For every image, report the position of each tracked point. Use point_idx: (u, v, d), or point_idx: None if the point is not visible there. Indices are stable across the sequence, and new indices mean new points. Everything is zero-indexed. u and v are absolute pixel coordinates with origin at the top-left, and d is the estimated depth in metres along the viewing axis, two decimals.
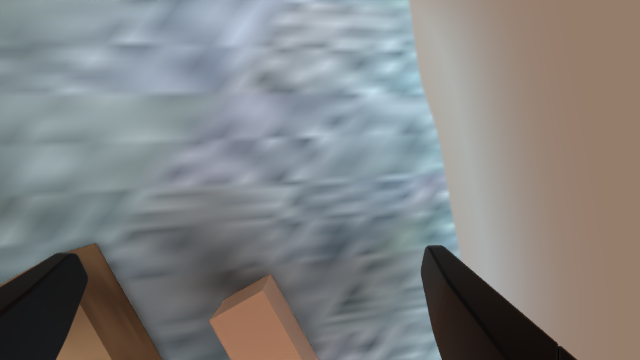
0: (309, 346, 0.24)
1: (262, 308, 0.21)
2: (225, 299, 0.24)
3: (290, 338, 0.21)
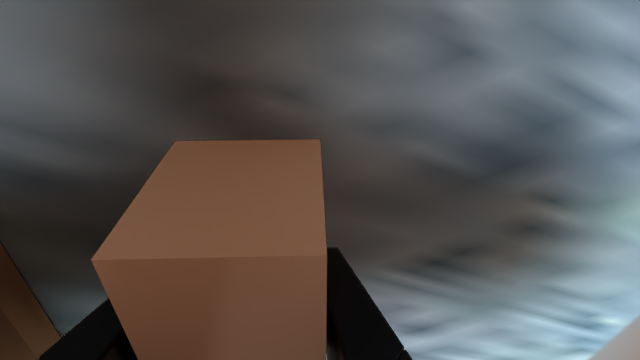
0: None
1: (296, 296, 0.06)
2: (174, 149, 0.08)
3: None
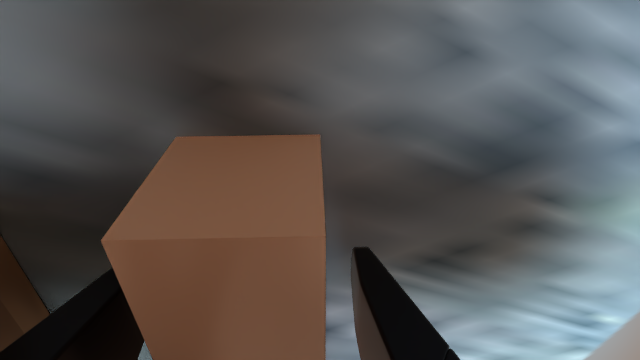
0: None
1: (296, 276, 0.06)
2: (178, 140, 0.09)
3: (324, 349, 0.08)
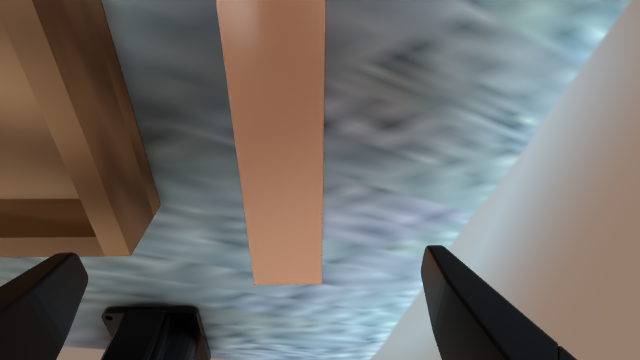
0: None
1: None
2: None
3: None
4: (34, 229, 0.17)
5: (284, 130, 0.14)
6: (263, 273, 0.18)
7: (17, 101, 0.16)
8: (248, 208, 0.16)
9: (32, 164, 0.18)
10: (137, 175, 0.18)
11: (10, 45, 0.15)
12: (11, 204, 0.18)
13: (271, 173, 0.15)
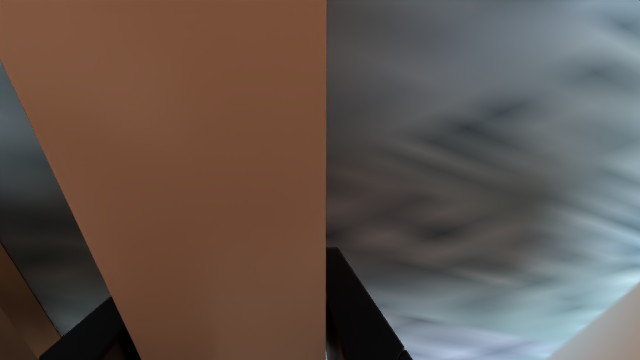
0: None
1: None
2: None
3: None
4: None
5: (239, 320, 0.06)
6: None
7: None
8: None
9: None
10: (0, 331, 0.10)
11: None
12: None
13: None
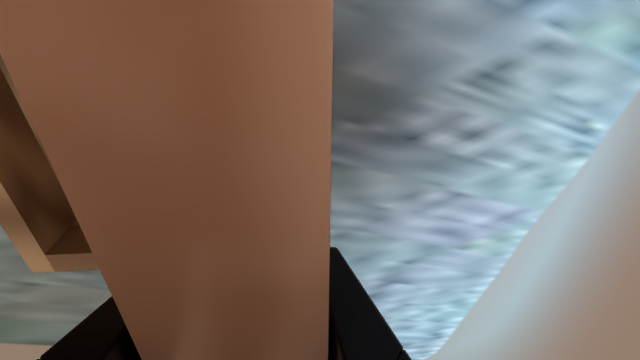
0: None
1: None
2: None
3: None
4: None
5: (241, 322, 0.06)
6: None
7: None
8: None
9: None
10: None
11: None
12: None
13: None
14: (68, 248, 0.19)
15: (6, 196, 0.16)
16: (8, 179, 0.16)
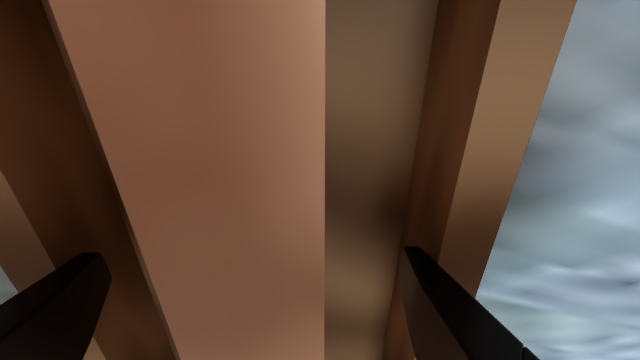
0: None
1: None
2: None
3: None
4: None
5: (248, 270, 0.07)
6: None
7: None
8: None
9: None
10: None
11: (328, 232, 0.12)
12: None
13: (231, 332, 0.08)
14: None
15: None
16: None
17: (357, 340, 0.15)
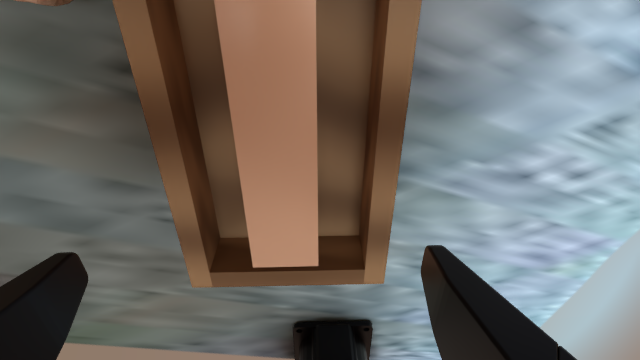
0: None
1: None
2: None
3: (315, 31, 0.13)
4: None
5: (279, 111, 0.15)
6: (261, 255, 0.19)
7: None
8: (246, 189, 0.17)
9: None
10: None
11: (321, 126, 0.19)
12: None
13: (268, 153, 0.16)
14: (227, 267, 0.21)
15: (195, 222, 0.19)
16: (197, 207, 0.19)
17: (341, 214, 0.23)
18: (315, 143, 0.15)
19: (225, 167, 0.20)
